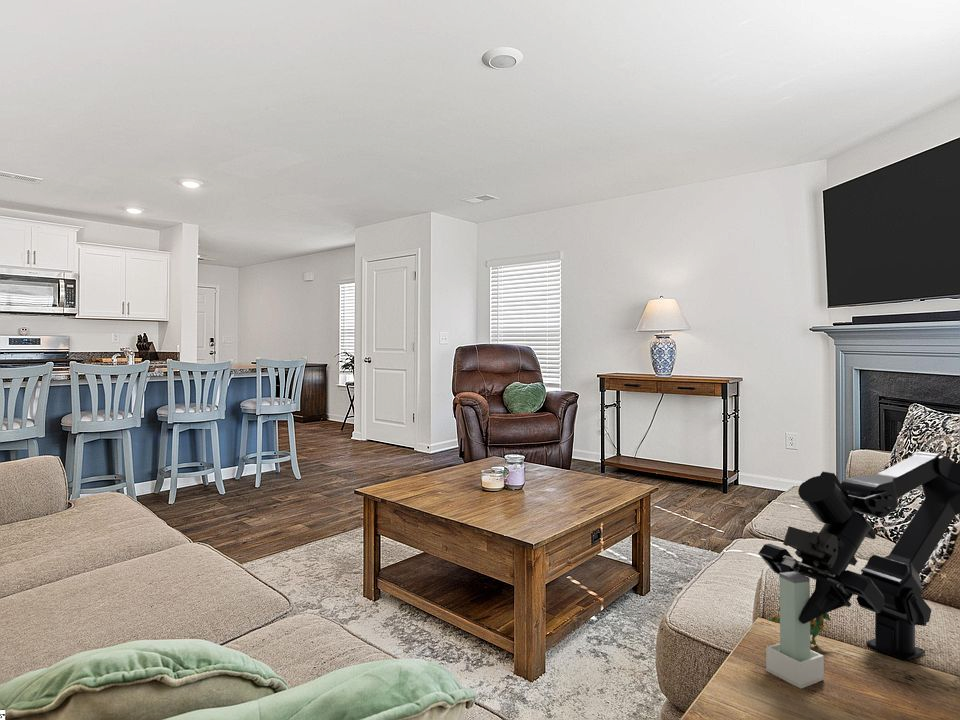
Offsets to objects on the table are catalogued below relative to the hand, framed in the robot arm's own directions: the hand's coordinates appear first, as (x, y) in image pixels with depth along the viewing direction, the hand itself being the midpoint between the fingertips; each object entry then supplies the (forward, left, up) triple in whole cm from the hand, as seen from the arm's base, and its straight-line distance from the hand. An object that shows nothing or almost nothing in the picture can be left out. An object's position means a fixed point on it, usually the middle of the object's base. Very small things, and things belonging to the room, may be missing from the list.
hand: (790, 617), depth 89 cm
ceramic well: (-1, 0, -9) cm, 9 cm away
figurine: (-11, -6, -10) cm, 16 cm away
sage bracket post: (-1, 0, -7) cm, 7 cm away
